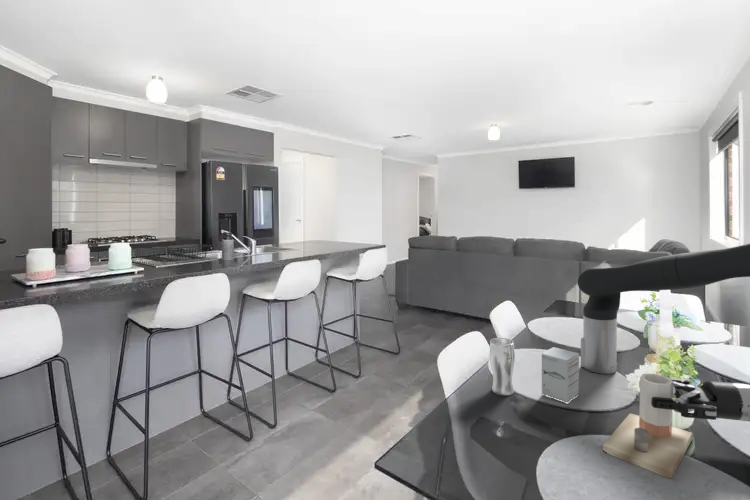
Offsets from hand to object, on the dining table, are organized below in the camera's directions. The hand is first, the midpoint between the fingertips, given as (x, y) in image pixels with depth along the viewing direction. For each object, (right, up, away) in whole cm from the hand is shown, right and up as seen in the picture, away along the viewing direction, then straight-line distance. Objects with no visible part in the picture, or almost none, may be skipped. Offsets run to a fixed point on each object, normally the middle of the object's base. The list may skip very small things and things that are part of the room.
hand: (645, 393), depth 87 cm
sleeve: (+2, -8, 0) cm, 9 cm away
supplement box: (-10, -9, +20) cm, 24 cm away
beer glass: (-24, -9, +25) cm, 36 cm away
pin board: (-1, -10, -3) cm, 11 cm away
